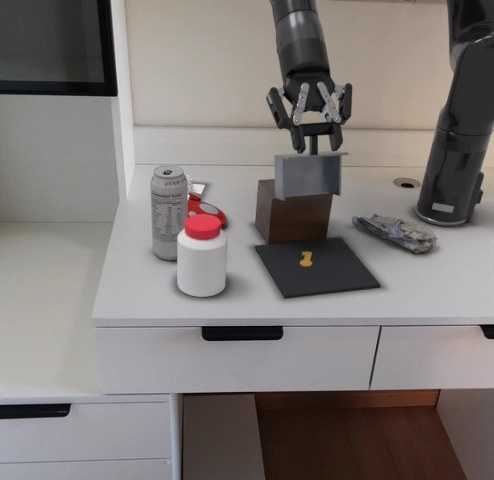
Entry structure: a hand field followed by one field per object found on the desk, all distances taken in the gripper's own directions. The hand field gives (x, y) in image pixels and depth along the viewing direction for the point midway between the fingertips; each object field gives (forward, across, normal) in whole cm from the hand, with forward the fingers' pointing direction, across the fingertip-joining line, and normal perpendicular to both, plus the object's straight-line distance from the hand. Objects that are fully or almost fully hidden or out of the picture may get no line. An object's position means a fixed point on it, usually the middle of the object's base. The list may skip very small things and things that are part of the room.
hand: (319, 149), depth 95 cm
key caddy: (-1, 0, +7) cm, 7 cm away
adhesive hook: (-6, -16, +34) cm, 38 cm away
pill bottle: (+18, -20, +9) cm, 28 cm away
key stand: (+8, 0, +19) cm, 20 cm away
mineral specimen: (+12, +18, +15) cm, 26 cm away
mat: (+16, 0, +10) cm, 19 cm away
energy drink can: (+10, -23, +17) cm, 30 cm away
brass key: (+15, -1, +10) cm, 18 cm away
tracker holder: (+2, -15, +25) cm, 29 cm away
